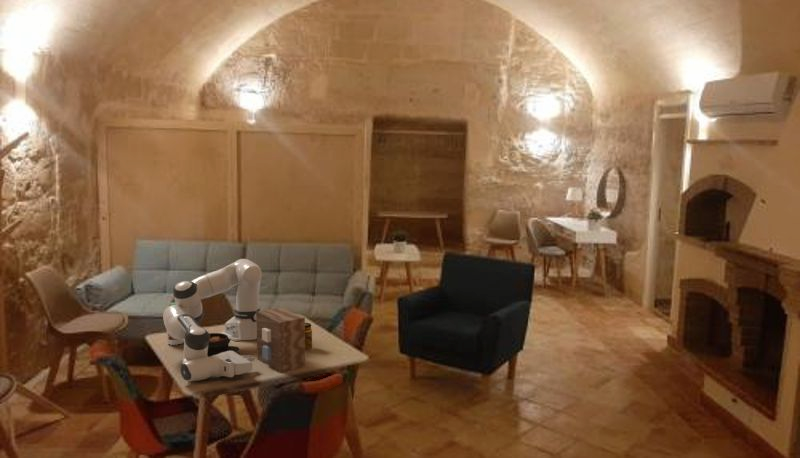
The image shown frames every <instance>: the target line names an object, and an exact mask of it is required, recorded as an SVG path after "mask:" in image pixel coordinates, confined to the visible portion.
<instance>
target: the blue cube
mask: <svg viewBox="0 0 800 458" xmlns="http://www.w3.org/2000/svg"><path fill="white" fill-rule="evenodd" d="M262 357H263V358H265V359H266V360H271V359H272V349H271V347H269V346H267V345H266V346H262Z"/></svg>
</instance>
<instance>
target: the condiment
mask: <svg viewBox="0 0 800 458" xmlns="http://www.w3.org/2000/svg"><path fill="white" fill-rule="evenodd" d="M312 350H316V348H314V347H313V329H312V324H311V323H310V322H305V352H306V351H307V352H308V351H312Z"/></svg>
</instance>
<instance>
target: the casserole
mask: <svg viewBox="0 0 800 458" xmlns="http://www.w3.org/2000/svg"><path fill="white" fill-rule="evenodd" d="M208 333H209V332H208ZM209 334H210V341H209V345H208V352H207V356H208V357H210V356H213V355H217V354H219V353H222V352H226V351H234V352H236V353H237V354H238V352H239V351H240V348H239V347H238V346H235V345H229V344H230V342H231V339H229V338H228V336H227V335H225V334H221V332H219V333H218V332H211V333H209Z"/></svg>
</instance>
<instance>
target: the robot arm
mask: <svg viewBox="0 0 800 458" xmlns="http://www.w3.org/2000/svg"><path fill="white" fill-rule="evenodd" d="M262 278H263V271H262V269H261V267H260V266H259V265H258V264H257V263H255V262H254V261H251V260H250V259H248V258H240V259H237V260H236V261H234V262H231V263H230V264H228V265H226V266H224V267H222V268H220V269H217V270H214V271H211V272H208V273H205V274H203V275H200V276H198V277H196V278H194V279H192V280H183V281H180V282H178V283H176V284H175V286H174V287H173V288H172V294H173V297H174V302H175V303H176V305H171V306H169V305H168V306H166V308H165V309H164V311H163V315H162V317H163V324H164V326H165V329H166V332H167V331H168V333H169V335H170V336H171V337H172V338H174V339H184V343H183V352H182V354H183V355H182V364H181V365H180V374H181V377H182V378H183V379H184V380H185V381H187V382H196V381H198V382H199V381H202V380H207V379H209V378H211V377H213V378H215V377H227V378H234V377H235V376H238V375H243V374H247V373H249V372H251V371H252V370H253V362H254V361H255V358H254V356H252V355H251V354H249V355H241V354H238V352H237V353H236V352H234V351H226V352H222V353H219V354H217V355H213V356H210V357H208V356H207V352H208V345H209V341H210V334H209V331H208V330H206V329H205V328H204V327H203V326H201V325H200V324H199V323H200V322H201V321H202V320H203V318H204V308H203V304H202V300H203V299H208V298H210V297H213V296H217V295H219V294H221V293H224V292H227V291H230V289H231V288H233V287H235V286H236V285H238V286H237V291H236V294H235V295H236V298H235V299H236V300H235V301H236V302H235V303H236V309H234V310H232V313H234V316H233V317H231V318H230V319H228V320H227V321H226V322H225V323H224V328H223V330H222V331H221V332H220V333H221V334H225V335H227V336H228V338H229V339H230V341H233V342H234V341H235V342H237V341H238V342H239V341H240V342H241V341H253V340H257V320H256V312H258V311H261V308H260V298H259V297H260V287H261V281H262Z"/></svg>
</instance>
